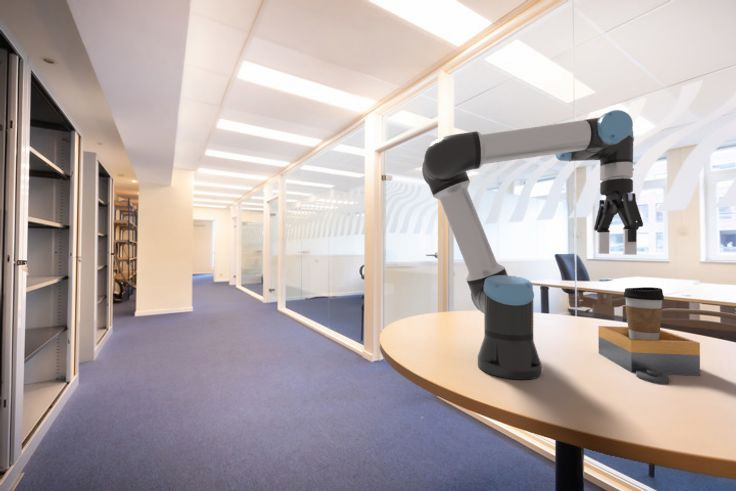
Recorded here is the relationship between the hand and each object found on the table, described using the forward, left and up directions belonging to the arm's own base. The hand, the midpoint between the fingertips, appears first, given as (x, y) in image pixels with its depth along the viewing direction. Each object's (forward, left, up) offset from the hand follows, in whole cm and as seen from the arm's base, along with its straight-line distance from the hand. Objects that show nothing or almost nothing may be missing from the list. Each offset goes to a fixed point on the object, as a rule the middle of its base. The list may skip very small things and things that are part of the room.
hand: (615, 254), depth 94 cm
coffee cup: (+4, -5, -24) cm, 25 cm away
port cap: (-1, -16, -30) cm, 34 cm away
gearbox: (+4, -5, -29) cm, 30 cm away
